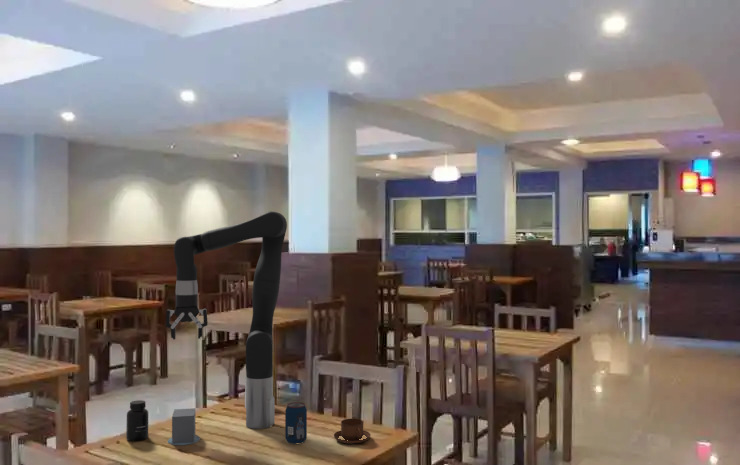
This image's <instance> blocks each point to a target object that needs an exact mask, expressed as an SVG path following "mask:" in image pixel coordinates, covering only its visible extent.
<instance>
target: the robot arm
mask: <svg viewBox="0 0 740 465" xmlns="http://www.w3.org/2000/svg"><path fill="white" fill-rule="evenodd" d="M287 228H288V223H287V219H286V218H285V216H284V215H283V214H282V213H279V212H277V211H267V212H265V213H263V214H260V215H259V216H256V217H254V218H252V219H248V220H247V221H243V222H241V223H237V224H231V225H227V226H223V227H218V228H215V229H209V230H207V231H204V232H202V233H199V234H195V235H190V236H181V237H179V238H178V239H176V240H175V243H174V246H173V255H174V256H173V257H174V261H175V262H174V263H175V265H176V284H175V309H174V310H173V309H166V312H165V327H166V328H169V329H170V338H171V339H172V340H173V341H174V340H176V333H177V332H176V326H177V325H178V324H179V322H181V323H185V322H188V323H191V322H194V324H195V325H196V326H197V327H198V328H197V336H198V337H197V339H198V340H200V339H201V338H202V337H203V328H204V327H207V326H208V323H209V322H208V310H207V308H203V309H199V302H198V301H199V299H198V298H199V297H198V296H199V295H198V294H199V293H198V292H199V287H198V286H199V285H198V269H197V268H198V267H197V265H196V264H195V259H194V258H195V256H196V255H199V254H202V253H205V252H208V251H215V250H219V249H223V248H225V247H226V248H227V247H229V246H232V245H235V244H238V243H241V242H245V241H248V240H252V239H259V238H260V239H261V238H262V241H261V251H260V255H259V258H258V260H257V264H256V267H255V270H254V276H253V282H252V293H251V296H252V297H251V298H252V300H251V301H252V302H251V303H252V304H251V305H252V318H251V323H250V327H249V328H250V329H249V332H248V336H247V339H246V342H245V373H246V374H245V375H246V376H245V377H246V409H245V417H246V418H245V421H246V424H245V425H246V427H247V428H249V429H255V430H256V429H258V430H260V429H270V428H271V427H272V426H273V425H274V424H275V396H274V395H273V394H274V392H273V390H274V386H273V385H274V373H273V372H274V368H273V367H274V365H273V362H274V360H273V359H274V358H273V357H274V356H273V355H274V354H273V353H274V348H273V346H274V340H273V336H274V335H273V323H274V322H273V321H274V315H275V312H276V311H275V310H276V306H277V303H278V298H279V292H280V284H281V283H280V282H281V272H282V271H281V270H282V251H283V246H284V240H285V237H286V233H287V230H288V229H287ZM173 314H174V316H176V319H175V320H174V321H173V323H171V317H172V316H173ZM199 314H200V315H201V316H202V317H203V322H201V321H200V320H199V318H198V317H197V316H198V315H199Z"/></svg>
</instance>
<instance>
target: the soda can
mask: <svg viewBox="0 0 740 465" xmlns="http://www.w3.org/2000/svg"><path fill="white" fill-rule="evenodd" d="M307 410H308V409H307V407H306V403H304V402H299V401H297V402H295V401H294V402H289V403H287V406H286V408H285V412H284V413H285V414H284V415H285V420H284V424H285V427H284V429H285V430H284V434H285V436H284V438H285V440H286V442H287V444H290V443H292V444H291V445H297V444H296V443H301V444H303V443H305V442H306V439H307V436H308V435H307V434H308V432H307V431H308V426H307V425H308V420H307V419H308V418H307V416H308V414H307V413H308V411H307ZM302 442H303V443H302Z"/></svg>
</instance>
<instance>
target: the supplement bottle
mask: <svg viewBox="0 0 740 465" xmlns="http://www.w3.org/2000/svg"><path fill="white" fill-rule="evenodd" d="M125 428H126V431H125V432H126V435H125V437H126V440H127V441H130V442H140V441H144V440H146V439H148V437H149V410H148V409H147V408H146V401H145V400H138V399H137V400H132V401H131V402H130V403H129V410H128V411H127V412H126V426H125Z"/></svg>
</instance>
